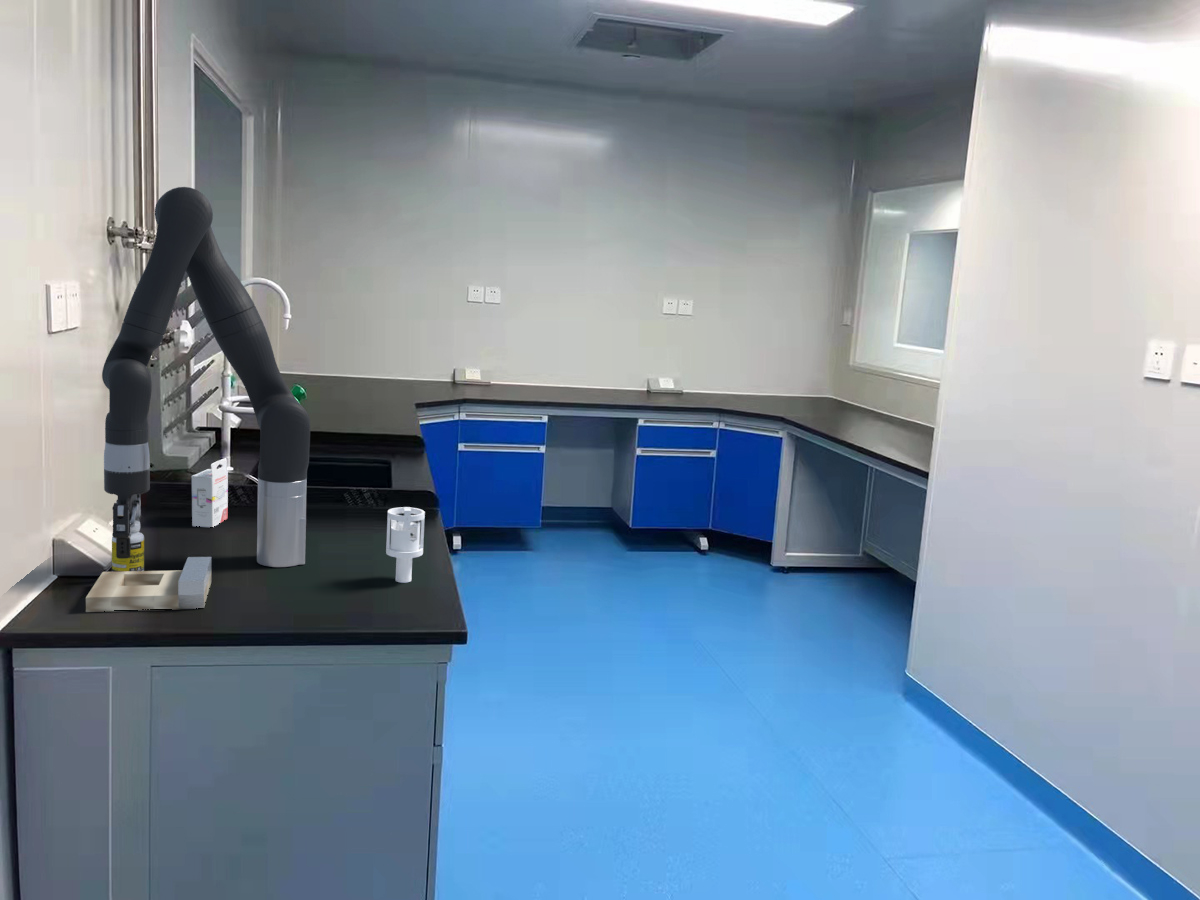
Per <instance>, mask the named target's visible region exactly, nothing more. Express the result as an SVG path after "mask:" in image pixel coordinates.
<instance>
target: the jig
mask: <svg viewBox="0 0 1200 900" xmlns="http://www.w3.org/2000/svg"><path fill="white" fill-rule="evenodd" d="M211 584H212V556H188V557H187V559H186V561H185V563H184V565H183V569H182V570H179V569H178V570H176V569H175V570H144V571H121V572H112V571H102V572H101V573H100V576H99V577H97V580H96V581H95V582H94V585H93V586H92V587H91V589H90V591H89V592H88V594H87V595H86V597H85V613H96V612H97V613H100V612H102V613H103V612H104V611H105V612H115V611H114V610H138V611H151V610H150V609H172V610H193V609H194V610H196V608H197V609H198V608H204V609H205V605H206V603H205V602H207V598H208V596H207V595H209V592H210V589H209V588H211ZM142 609H144V610H142ZM145 609H146V610H145ZM147 609H149V610H147ZM105 612H104V613H105Z"/></svg>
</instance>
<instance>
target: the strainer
mask: <svg viewBox="0 0 1200 900" xmlns="http://www.w3.org/2000/svg"><path fill="white" fill-rule="evenodd" d="M402 514H403V515H402ZM425 515H426V511H424V510H423V509H421V508H417V507H410V506H403V507H401V506H400V507H393V508H389V509H388V510H387V518H386V519H387V520H386V523H387V524H386V544H385V545H386V547H385V548H386V549H385V552H386V553H385V554H386V555H387V556H389V557H393V558H395V559H396V561H395V562H396V563H395V566H396V567H395V582H398V583H402V584H403V583H405V584H406V583H409V582H410V583H411V582H412V571H413V559H414V558H419V557H421V556H423V554H424V539H425V538H424V537H425V517H426V516H425ZM411 534H412V535H411Z"/></svg>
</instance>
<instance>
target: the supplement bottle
mask: <svg viewBox="0 0 1200 900" xmlns="http://www.w3.org/2000/svg"><path fill="white" fill-rule="evenodd" d="M139 521H140V520H139ZM139 521H136V520H135V526H134V527H132V529H131V537H130V557H129V558H117V557H116V539H115V538H113V536H111V537H112V538H111V572H121V571H145V535H144V534H143V533H142V532H140V531H141V521H140V522H139ZM119 531H125V527H121V528H120V530H119Z"/></svg>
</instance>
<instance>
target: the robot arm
mask: <svg viewBox="0 0 1200 900" xmlns="http://www.w3.org/2000/svg"><path fill="white" fill-rule="evenodd" d="M213 212H214V211H213V207H212V205H211V203H210V201H209V199H208V198H207V197H206V196H205V194H203V193H202V191H199V190H198V189H196V188H193V187H188V186H178V187H174V188H172V189H169V190H167V191H166V192H165V193H164V194H163V195H161V196H160V198H159V199H158V200H157V202H156V204H155V207H154V217H155V218H154V219H155V221H156V224H157V227H156V234H155V237H154V238H155V239H154V243H153V247H152V251H151V253H150V256H149V259H148V262H147V264H146V265H145V268H144V270H143V273H142V275H141V277H140V278H139V281H138V282H137V283H138V284H137V285H136V287H135V289H134V292H133V294H132V297H131V298H130V300H129V304H128V307H127V309H126V312H125V315H124V318H123V320H122V321H123V322H122V324H121V328H120V330H119V334H118V336H117V337H116V339H115V341H114V343H113V344H112V346H111V349H110V351H109V352H108V354H107V357H106V359H105V361H104V363H103V367H102V370H101V378H102V382H103V384H104V386H105V388H107V389H108V390H109V396H108V397H109V398H108V399H109V409H108V413H107V414H106V415H105V420H104V422H105V426H104V429H105V430H104V435H105V438H104V440H105V443H104V450H103V490H104V491H105V493H107V494H110V495H115V496H117V499H116V500H115V501H116V502H114V503H113V506H112V534H111V535H112V536H111V537H113V538H115V539H116V557H117V558H129V557H130V537H131V529H132V527H134V526H135V520H136V521H139V522H140V523H141V518H142V509H141V508H142V507H141V506H142V505H141V504H142V503H141V495H143V494H145V493H147V492H149V491H150V489H151V486H150V485H151V481H150V480H151V479H150V478H151V477H150V475H151V470H150V469H151V466H150V465H151V462H150V461H151V460H150V459H151V458H150V457H151V456H150V448H149V421H148V420H149V419H148V417H149V412H150V411H149V410H150V406H151V399H152V389H153V384H152V383H153V382H152V375H151V372H150V371H149V369H148V365H149V363H150V360H151V358H152V355H153V353H154V351H155V350H157V349H158V348H159V347H160V346H161V344H162V342H163V340H164V336H165V333H166V331H167V328H168V325H169V322H170V319H171V316H172V313H173V310H174V308H175V304H176V302H177V297H178V294H179V292H180V289H181V285H182V282H183V280H184V277H185V274H187V277H188V279H189V282H190V284H191V287H192V289H193V292H194V295H195V298H196V300H197V303H198V305H199V307H200V309H201V311H202V314H203V315H204V319H205V320H206V323H207V324H208V327H209V328H210V329H209V330H210V331H211V333H212V335H213V337H214V338H215V341H216V343H217V344H218V346H219V348H220V350H221V352H222V353H223V355H224V357H225V358H226V360H227V362H228V363H229V364H230V366H231V367H232V369H233V370H234V371H235V373H236V375H237V376H238V378H239V379H240V381H241V382H242V385H243V387H244V389H245V392H246V393H247V396H248V398H249V401H250V404H251V406H252V409H253V413H254V414H255V418H256V422H257V425H258V428H259V430H260V433H259V434H260V437H259V438H260V442H259V443H260V444H259V446H260V447H259V460H258V461H259V462H258V467H257V517H256V518H257V525H256V526H257V528H256V529H257V530H256V531H257V532H256V534H257V535H256V536H257V537H256V562H257V563H258V564H259V565H262V566H264V567H265V566H266V567H269V568H270V567H272V568H287V567H295V566H298V565H300V566H301V565H305V564H306V540H307V539H306V534H307V532H306V531H307V530H306V529H307V528H306V527H307V483H308V482H307V479H308V468H309V464H310V446H311V419H310V416H309V414H308V412H307V410H306V409H305V408H304V406H302V404H301V403H300V402H299V401H298V400H297V399H296V397H295V396H294V394H293V392H292V391H291V389H290V388H289V386H288V384H287V382H286V381H285V379H284V378H283V376H282V373H281V372H280V369H279V366H278V364H277V362H276V357H275V354H274V351H273V348H272V343H271V340H270V337H269V335H268V332H267V328H266V327H265V325H264V322H263V320H262V317H261V316H260V313H259V311H258V309H257V307H256V305H255V304H256V303H254V301H253V299H252V297H251V295H250V293H249V292H248V291H247V288H246V287H245V286H244V285H243V284H242V282H241V280H240V278H238V276H237V275H236V273H235V272H234V271H233V269H232V268H231V267H230V265H229V264H228V262H227V261H226V258H225V257H224V255H223V253H222V251H221V249H220V246H219V244H218V242H217V239H216V237H215V234H214V232H213V229H212V226H211V225H212V223H213V218H214V215H213V214H214V213H213ZM121 527H125V531H119V530H120V528H121Z"/></svg>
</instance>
